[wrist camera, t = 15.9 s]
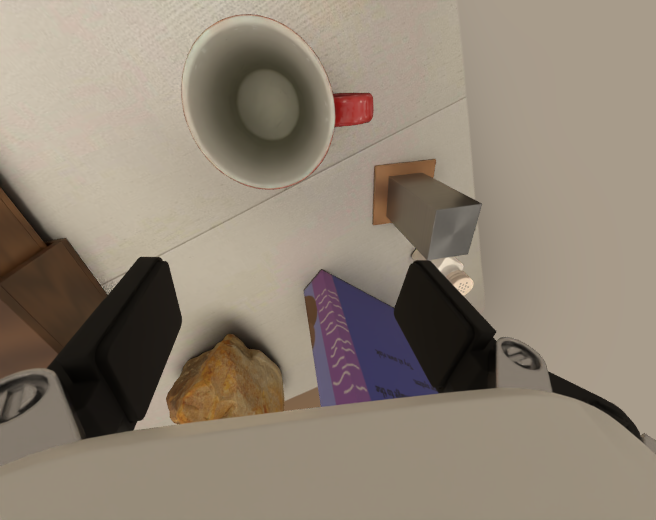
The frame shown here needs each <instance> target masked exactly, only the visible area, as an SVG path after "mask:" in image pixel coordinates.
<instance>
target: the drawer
mask: <svg viewBox="0 0 656 520" xmlns="http://www.w3.org/2000/svg"><path fill="white" fill-rule="evenodd" d="M46 247H47V246H46V244H45V243H44V242H43V241H42V239H41V238H40V237H39V235H38V234H37V233H36V232H35V230H34V229H33V228H32V227H31V225H30V224H29V223H28V222H27V220H26V219H25V218H24V217H23V215H22V214H21V213H20V212H19V210H18V209H17V208H16V206H15V205H14V204H13V203H12V201H11V200H10V199H9V198H8V196H7V195H6V194H5V193H4V191H3V190H2V189H1V188H0V278H1V277H3V276H4V275H6V274H7V273H9V272H10V271H12V270H13V269H15V268H16V267H18V266H19V265H21V264H22V263H24V262H25V261H27V260H28V259H30V258H31V257H33V256H34V255H36V254H37V253H39V252H40V251H42V250H43V249H45V248H46Z"/></svg>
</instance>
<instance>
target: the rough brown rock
mask: <svg viewBox="0 0 656 520" xmlns="http://www.w3.org/2000/svg"><path fill="white" fill-rule="evenodd" d="M166 401H167V405H168V409H169V411H170V418H171V420H172V421H173V422H174V423H176V424H185V423H192V422H200V421H209V420H217V419H225V418H233V417H242V416H250V415H258V414H266V413H274V412H283V411H284V391H283V381H282V375H281V372H280V369H279V368H278V367H277V365H276V364H275V363H273V362H272V361H271V360H270V359H269V358H268V357H267V356H265V354H263V353H262V352H261V351H259V350H254V349H248V348H247V347H246V346H245V345H244V343H243V342H242V341H241V340H240V339H239V338H237V337H236V336H235V335H233V334H227V335H226V336H225V337H224V339H223V341H221V342H220V343H217V345H216V346H215V347H214V349H212V350H210V351H207V352H204V353H203V354H201V355H200V356H199V357H195V358H192V359H190V360H188V361H187V363H186V364H185V365H184V367H183V371H182V373H181V375H180V377H179V378H178V379H177V380H176V381H175V383H174V385H173V387H172V388H171V390H170V391H169V392H168V395H167V398H166Z"/></svg>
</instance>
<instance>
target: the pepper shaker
mask: <svg viewBox="0 0 656 520" xmlns="http://www.w3.org/2000/svg"><path fill="white" fill-rule="evenodd" d="M412 258H413V260H414V261H416V260H426V259H425V258H424V257H423V255H422V254H421V253H420V252H419V251H418V250H417V249H416V250H415V251H414V253H413V254H412ZM429 261H431V262H432V263H433V264H434V265H435V266H436V267H437V268H438V269H439V271H440V272H441V273H442V274H443V275H444V276H445V277H446V278H447V279H448V280H449V281H450V282H451V283H452V284H453V286H454V287H455V288H456V289H457V290H458V291H459V292H460V293H461V294H462V295H465V294H467V293H468V292H469V291H470V290H471V289H472V287H473V280H472V279H471V278H470V277H469V276H468V275H467V274H466V273H465V272H464V271H462V270H463V264H462V263H461V262H460V261H459V260H458V259H457V258H455V257H447V258H441V259H435V260H429Z"/></svg>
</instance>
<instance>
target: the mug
mask: <svg viewBox="0 0 656 520" xmlns="http://www.w3.org/2000/svg"><path fill="white" fill-rule="evenodd" d="M181 97H182V105H183V111H184V116H185V119H186V122H187V125H188V127H189V130H190V132H191V134H192V136H193V138H194V140H195V142H196V144H197V145H198V147H199V149H200V150H201V151H202V153H203V154H204V155H205V157H206V158H207V159H208V160H209V161H210V162H211V163H212V164H213V165H214V166H215V167H216V168H217V169H218V170H219V171H220V172H222V173H223V174H225V175H226V176H228V177H229V178H231V179H233V180H235V181H237V182H239V183H241V184H243V185H246V186H250V187H253V188H258V189H280V188H285V187H289V186H292V185H294V184H297V183H299V182H300V181H302V180H304V179H305V178H307V177H308V176H309V175H310V174H312V173H313V172H314V171H315V170H316V169H317V167H318V166H319V165H320V164H321V162H322V161H323V159H324V158H325V156H326V154H327V152H328V149H329V147H330V144H331V141H332V137H333V133H334V127H342V126H352V125H358V124H363V123H368V122H370V121H371V119H372V117H373V111H374V109H373V97H372V95H371V94H370V93H337V94H333V92H332V88H331V85H330V82H329V79H328V76H327V74H326V72H325V69H324V67H323V65H322V64H321V62H320V60H319V58H318V57H317V55H316V54H315V52H314V51H313V50H312V49H311V47H310V46H309V45H308V44H307V43H306V42H305V41H304V40H303V39H302V38H301V37H300V36H299V35H298V34H297V33H295V32H294V31H293V30H291V29H290V28H288V27H287V26H285V25H284V24H282V23H280V22H277V21H275V20H273V19H270V18H267V17H263V16H259V15H252V14H246V15H235V16H231V17H227V18H225V19H222V20H220V21H218V22H216V23H215V24H213V25H211V26H210V27H209V28H207V29H206V30H205V31H204V32H203V33H202V34H201V35H200V36H199V37H198V38H197V39H196V41H195V42H194V44H193V45H192V47H191V49H190V51H189V53H188V56H187V58H186V61H185V65H184V69H183V74H182V83H181Z"/></svg>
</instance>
